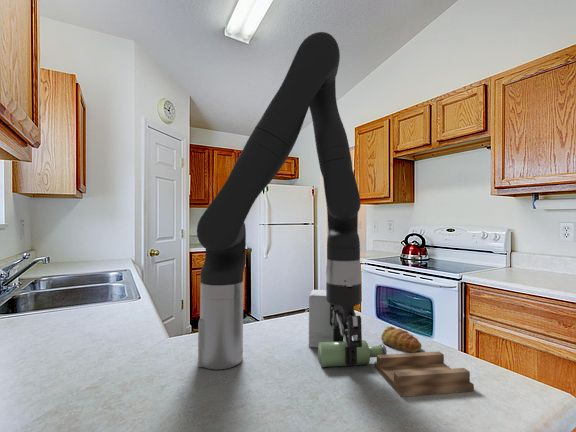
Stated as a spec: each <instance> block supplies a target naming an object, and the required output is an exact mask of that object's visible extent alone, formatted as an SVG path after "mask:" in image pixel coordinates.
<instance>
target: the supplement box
mask: <svg viewBox="0 0 576 432" xmlns="http://www.w3.org/2000/svg"><path fill="white" fill-rule="evenodd" d="M319 342H333V331H332V326H331V325H330V303H328V302H327V300H326V289H312V290H311V292H310V294H309V295H308V347H310V348H318V344H319Z"/></svg>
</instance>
